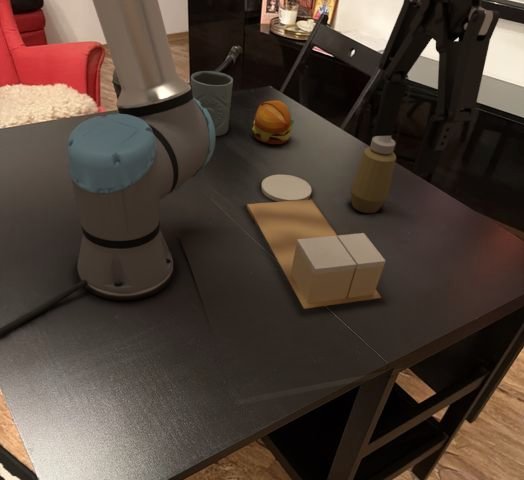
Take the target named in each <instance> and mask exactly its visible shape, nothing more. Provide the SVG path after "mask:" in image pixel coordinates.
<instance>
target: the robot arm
mask: <svg viewBox="0 0 524 480" xmlns="http://www.w3.org/2000/svg"><path fill="white" fill-rule="evenodd" d="M92 4H93V7H94V9H95V12H96V15H97V19H98V22H99V24H100V28H101V30H102V34H103V36H104V40H105V43H106V45H107V48H108V52H109V55H110V58H111V61H112V64H113V68H114V69H115V70H116V73H117V76H118V79H119V82H120V85H121V93H120V96H119V98H118V100H117V99H116V102H115V105H116V108H117V111H118V113H108V114H107V115H105V116H102V115H97V116H96V115H95V116H93V117H91V118H88V119H86V120H84V121H82V122H81V123H79V124H78V125H77V126H76V127H75V128H73V130H72V131H71V132H70V134H69V136H68V139H67V145H66V150H67V158H68V161H67V165H68V167H67V168H68V172H69V175H70V178H71V183H72V187H73V192H74V197H75V202H76V207H77V211H78V216H79V221H80V226H81V231H82V232H81V233H82V236H81V240H80V241H81V242H80V247H79V254H78V257H77V265H76V266H77V269H76V270H77V272H78V277H79V282H78V283H76V284H73V286H71V287H69V288H67V289H66V290H64V291H62V292H61V293H59V294H58V295H56V296H55V297H53V298H51V299H49V300H47V302H44V303H43V304H41V305H39V306H38V307H36V308H34V309H33V310H31V311H29V312H27V313H25V314H24V315H22V316H20V317H18V318H16V319H14V320H12V321H11V322H9V323H7V324H5V325H3V326H2V327H0V336H2V335H5V334H6V333H7V332H10V331H12V330H13V329H15V328H17V327H18V326H20V325H22V324H24V323H26V322H27V321H29V320H31V319H33V318H35V317H36V316H39V315H40V314H41V313H43V312H45V311H47V310H48V309H51V308H52V307H53V306H55V305H57V304H59V303H61V301H63V300H64V299H66V298H67V297H69V296H71V295H73V294H74V293H76V292H78V291H79V290H81V289H82V288H85V290H87V291H89V292H90V293H91V294H93V295H95V296H97V297H100V298H102V299H106V300H109V301H121V302H123V301H124V302H125V301H126V302H129V301H137V300H141V299H146V298H148V297H151V296H154V295H156V294H158V293H159V292H161V291H162V290H164V289H165V288H166V287H167V286H168V285H169V284H170V282H171V281H172V279H173V276H174V259H173V256H172V253H171V251H170V249H169V247H168V245H167V242H166V240H165V238H164V235H163V233H162V231H161V224H160V223H161V222H160V203H161V201H162V200H163V199H165V198H166V197H167V196H168V195H169V194H171V193H172V192H174V191H175V190H176V189H178V188H179V187H181V186H182V185H183V184H184V183H186V182H187V181H188V180H190V179H192V178H194V177H196V176H197V175H198V174H199V173H200V172H202V169H203V168H204V167H206V165H207V164H208V163H209V162H210V160H211V159H212V156H213V154H214V151H215V147H216V136H215V128H214V124H213V121H212V119H211V116H210V114H209V112H208V111H207V109H206V108H203V107H202V106H201V103H200V102H199V101H198V100H196V99H195V98H193V94H192V86H191V84H190V83H188V82H187V81H185V80H184V79H183V78H182V77H180V76H179V74H178V72H177V69H176V66H175V61H174V57H173V54H172V50H171V45H170V42H169V38H168V34H167V31H166V27H165V23H164V19H163V15H162V10H161V7H160V3H159V0H92ZM499 20H500V12H499V11H498V10H489V9H488V10H487V9H485V8H483V7H482V0H403V3H402V5H401V8H400V11H399V13H398V15H397V18H396V20H395V23H394V25H393V27H392V30H391V32H390V35H389V37H388V40H387V43H386V45H385V47H384V49H383V52H382V54H381V57H380V59H379V62H378V69H379V71H383V79H384V85H383V89H382V92H381V96H380V100H379V107H378V110H377V114H376V118H375V122H374V124H373V125H374V126H373V129H372V132H371V134H372V136H373V137H375V136H391V137H393V133H394V131H395V127H396V123H397V119H398V116H399V112H400V110H401V107H402V103H403V100H404V97H405V93H406V90H407V86H408V84H407V83H406V82H405V81H409V79H410V78H409V75H408V74H409V72H410V71H411V69H412V68H413V66H414V65H415V64H416V62H417V61H418V59H419V57H421V55H422V53H423V52H424V51H425V49H426V48H427V47H428V45H429V43H430V42H431V40H432V39H433V41H435V50H436V52H437V53H438V70H437V71H438V72H437V73H438V74H437V79H438V80H437V94H436V95H437V97H436V98H437V99H436V114H433V115H431V116H430V117H429V120H428V122H427V125H426V128H425V131H424V134H423V137H422V140H421V143H420V146H419V148H418V152H417V155H416V158H415V160H414V163H413V166H412V169H411V172H412V174H414V175H426V174H429V175H430V174H435V170H436V167H437V165H438V162H439V159H440V157H441V155H442V152H443V151H444V150H446V147H447V146H448V143H449V140H450V138H451V135H452V133H453V130H454V128H455V125H456V124H457V123H460V122H471V121H472V120H473V119H474V116H475V111H476V106H477V101H478V99H479V93H480V88H481V84H482V80H483V79H482V78H483V74H484V69H485V65H486V60H487V56H488V51H489V48H490V47H489V46H490V42H491V39H492V36H493V34H494V32H495V29H496V27H497V25H498V22H499ZM448 107H449V108H448Z"/></svg>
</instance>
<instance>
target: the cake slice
mask: <svg viewBox="0 0 524 480" xmlns="http://www.w3.org/2000/svg"><path fill="white" fill-rule="evenodd" d="M337 238H338V240H339V241H340V242H341V244H342V245H343V247H344V248H345V249H346V251H347V252H348V254H349V255H350V256H351V258H352V259H353V261H354V262H355V263H356V267H355V270H354V273H353V277H352V280H351V283H350V286H349V290H348V293H347V298H351V297H359V296H366V295H373V294H374V293H375V290H377V286H378V285H379V281H380V278H381V275H382V272H383V270H384V267H385V264H386V259H385V258H384V256H383V255H382V254H381V253H380V251H378V249H377V248H376V247H375V245H374V244H373V243H372V241H371V240H370V239H369V237H368V236H367V234H366V233H364V232H361V233H349V234H339V235H337Z"/></svg>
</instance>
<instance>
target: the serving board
mask: <svg viewBox="0 0 524 480" xmlns="http://www.w3.org/2000/svg"><path fill="white" fill-rule="evenodd" d="M246 210H247V212H248V214H249V216H250V217H251V219H252V221H253V222H254V224H255V225H258V227H259V229H260V231H261V232H262V234H263V236H264V238H265V240H266V242H267V244H268V245H269V247H270V249H271V251H272V253H273V255H274V256H275V259H276V260H277V262H278V264H279V266H280V268H281V269H282V271H283V273H284V275H285V277H286V279H287V281H288V282H289V284H290V286H291V287H292V290H293V291H294V294H295V296H297V297H296V298H297V299H298V300H299V302H300V304H301V307H302V308H303V309H312V308H320V307H326V306H333V305H340V304H347V303H354V302H355V303H356V302H362V301H370V300H375V299H383V298H382V296H381V294H380V293H379V292H378V290H377V289H376V290H375V293H374V294H373V295H366V296H359V297H351V298H347V296H346V298H344V299H337V300H330V301H322V302H315V303H307V302H306V300H305V298H304V296H303V294H302V293H301V291H300V289H299V287H298V285H297V284H296V282H295V280H294V278H293V277H292V275H291V270H292V265H293V259H294V254H295V248H296V243H297V239H307V238H317V237H328V236H336V237H337V236H338V235H337V233H336V231H334V229H333V228H332V226H331V224H330V223H329V222H328V221H327V219H326V218H325V216H324V215H323V213H322V212H321V211H320V210H319V208H318V207H317V205H316V203H314V201H313V199H308V200H298V201H284V202H277V201H271V202H259V203H257V202H256V203H247V204H246Z"/></svg>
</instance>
